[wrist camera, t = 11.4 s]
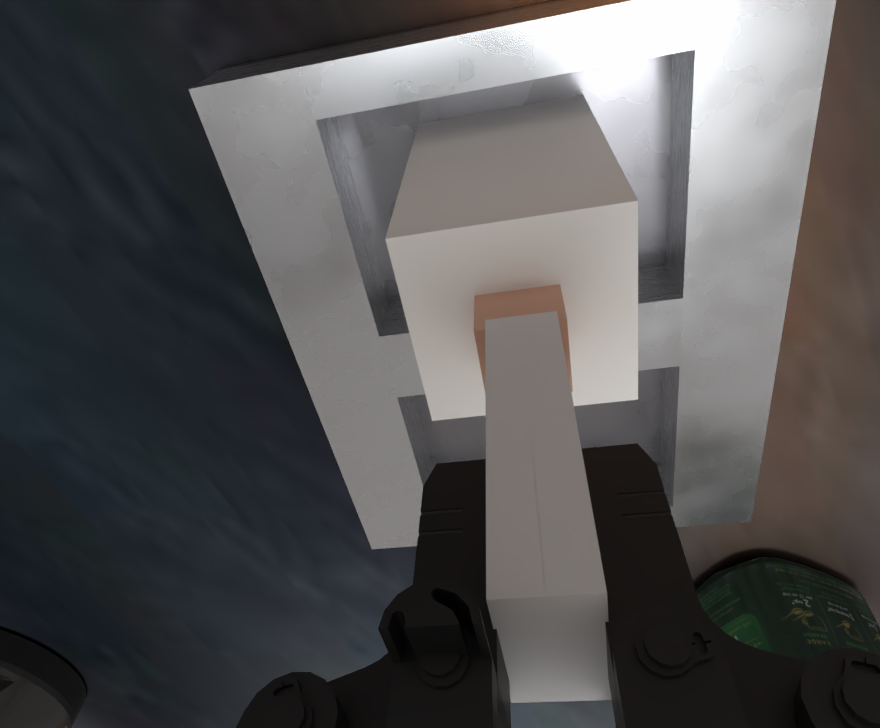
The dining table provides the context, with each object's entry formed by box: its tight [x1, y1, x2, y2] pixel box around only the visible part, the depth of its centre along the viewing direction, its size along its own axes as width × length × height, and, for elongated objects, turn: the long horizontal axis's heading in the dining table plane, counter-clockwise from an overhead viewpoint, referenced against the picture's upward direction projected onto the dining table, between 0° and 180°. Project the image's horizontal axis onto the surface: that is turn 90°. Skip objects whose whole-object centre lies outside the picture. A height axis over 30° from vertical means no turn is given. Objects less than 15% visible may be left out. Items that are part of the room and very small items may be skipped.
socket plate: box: [188, 0, 836, 549], centre depth 25 cm, size 18×22×3 cm
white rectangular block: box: [385, 94, 638, 421], centre depth 18 cm, size 6×6×10 cm
